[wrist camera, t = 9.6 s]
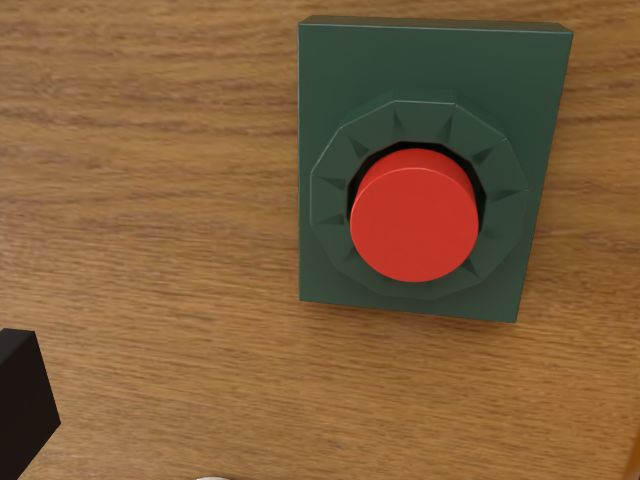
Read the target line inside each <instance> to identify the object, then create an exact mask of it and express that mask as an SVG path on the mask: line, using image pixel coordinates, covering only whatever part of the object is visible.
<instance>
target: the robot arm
mask: <svg viewBox="0 0 640 480" xmlns="http://www.w3.org/2000/svg"><path fill="white" fill-rule="evenodd" d="M60 424H61V421H60V418H59V414H58V411H57V407H56V404H55V400H54V397H53V393H52V390H51V386H50V383H49V379H48V376H47V372H46V369H45V365H44V362H43V358H42V355H41V352H40V348H39V345H38V341H37V338H36V334H35V331H28V330H18V329H8V328H4V329H2V330H1V331H0V480H17V479H18V478H19V477H20V475H21V474H22V473H23V471H24V470H25V469H26V468H27V466H28V465H29V464H30V462H31V461H32V460H33V459H34V457H35V456H36V455H37V453H38V452H39V451H40V450H41V448H42V447H43V446H44V445H45V443H46V442H47V441H48V439H49V438H50V437H51V436H52V434H53V433H54V432H55V430H56V429H57V428H58V427H59V425H60ZM639 480H640V477H639Z"/></svg>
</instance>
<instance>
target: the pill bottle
mask: <svg viewBox="0 0 640 480" xmlns="http://www.w3.org/2000/svg"><path fill="white" fill-rule="evenodd" d="M196 480H230V479H226V478H222V477H205V478H200V479H196Z"/></svg>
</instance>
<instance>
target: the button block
mask: <svg viewBox="0 0 640 480" xmlns="http://www.w3.org/2000/svg"><path fill="white" fill-rule="evenodd" d="M572 39H573V32H572V31H570V30H569V29H567V28H565V27H564V26H562V25H561V24H559V23H544V22H511V21H478V20H446V19H413V18H381V17H348V16H316V15H312V16H310V17H308V18H306V19H305V20H303V21H301V22H299V23H298V25H297V55H298V210H299V300H300V301H308V302H318V303H327V304H336V305H346V306H355V307H365V308H374V309H384V310H393V311H402V312H412V313H421V314H431V315H440V316H450V317H459V318H469V319H478V320H487V321H497V322H506V323H516V320H517V315H518V310H519V305H520V300H521V295H522V290H523V285H524V280H525V275H526V270H527V265H528V260H529V255H530V250H531V245H532V240H533V235H534V230H535V225H536V220H537V215H538V210H539V205H540V200H541V195H542V190H543V185H544V180H545V175H546V170H547V165H548V159H549V154H550V149H551V144H552V139H553V134H554V129H555V124H556V119H557V114H558V109H559V104H560V99H561V94H562V89H563V84H564V79H565V74H566V69H567V64H568V59H569V54H570V49H571V44H572ZM411 148H420V149H428V150H432V151H436V152H438V153H441V154H443V155H445V156H447V157H449V158H450V159H452V160H453V161H454V162H456V163H457V164H458V165H459V166H460V167H461V168H462V169H463V171H464V172H465V173H466V174H467V176H468V178H469V180H470V182H471V184H472V187H473V191H474V195H475V201H476V208H477V214H478V223H479V227H478V235H477V240H476V242H475V245H474V247H473V249H472V251H471V253H470V254H469V256H468V257H467V258H466V260H465V261H464V262H463V263H462V264H461V265H460V266H458V267H457V268H456V269H455V270H453V271H452V272H450V273H448V274H447V275H444V276H442V277H440V278H437V279H434V280H430V281H424V282H406V281H400V280H396V279H392V278H390V277H387V276H385V275H383V274H381V273H379V272H378V271H376V270H375V269H373V268H372V267H371V266H370V265H369V264H368V263H366V261H365V260H364V259H363V258H362V257H361V255H360V254H359V252H358V251H357V249H356V247H355V245H354V243H353V239H352V236H351V231H350V217H351V212H352V208H353V205H354V201H355V198H356V195H357V192H358V189H359V186H360V183H361V181H362V179H363V177H364V175H365V174H366V172H367V171H368V170H369V169H370V167H372V166H373V165H374V164H375V163H376V162H377V161H378V160H380V159H381V158H383V157H385V156H386V155H388V154H391V153H393V152H396V151H399V150H403V149H411Z"/></svg>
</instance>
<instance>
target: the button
mask: <svg viewBox="0 0 640 480" xmlns="http://www.w3.org/2000/svg"><path fill="white" fill-rule="evenodd" d="M478 227H479V223H478V214H477V208H476V201H475V195H474V191H473V187H472V184H471V182H470V180H469V178H468V176H467V174H466V173H465V172H464V171H463V169H462V168H461V167H460V166H459V165H458V164H457V163H456V162H454V161H453V160H452V159H450V158H449V157H447V156H445V155H443V154H441V153H438V152H436V151H432V150H428V149H420V148H411V149H403V150H399V151H396V152H393V153H391V154H388V155H386V156H385V157H383V158H381V159H380V160H378V161H377V162H376V163H375V164H374V165H373V166H372V167H370V169H369V170H368V171H367V172H366V174H365V175H364V177H363V179H362V181H361V183H360V186H359V189H358V192H357V195H356V198H355V201H354V205H353V208H352V212H351V217H350V231H351V236H352V239H353V243H354V245H355V247H356V249H357V251H358V252H359V254H360V255H361V257H362V258H363V259H364V260H365V261H366V263H368V264H369V265H370V266H371V267H372V268H373V269H375V270H376V271H378V272H379V273H381V274H383V275H385V276H387V277H390V278H392V279H396V280H400V281H406V282H424V281H430V280H434V279H437V278H440V277H442V276H444V275H447V274H448V273H450V272H452V271H453V270H455V269H456V268H457V267H458V266H460V265H461V264H462V263H463V262H464V261H465V260H466V258H467V257H468V256H469V254H470V253H471V251H472V249H473V247H474V245H475V242H476V240H477V235H478Z"/></svg>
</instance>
